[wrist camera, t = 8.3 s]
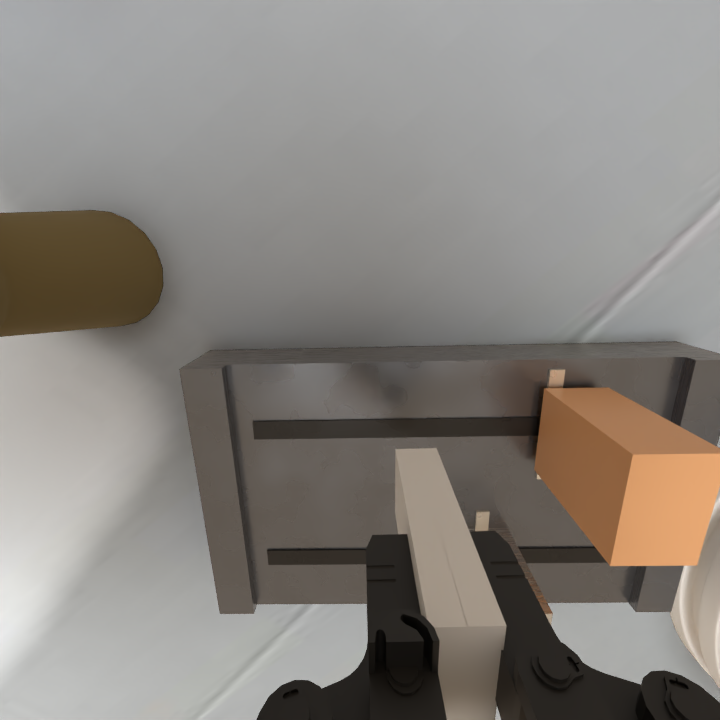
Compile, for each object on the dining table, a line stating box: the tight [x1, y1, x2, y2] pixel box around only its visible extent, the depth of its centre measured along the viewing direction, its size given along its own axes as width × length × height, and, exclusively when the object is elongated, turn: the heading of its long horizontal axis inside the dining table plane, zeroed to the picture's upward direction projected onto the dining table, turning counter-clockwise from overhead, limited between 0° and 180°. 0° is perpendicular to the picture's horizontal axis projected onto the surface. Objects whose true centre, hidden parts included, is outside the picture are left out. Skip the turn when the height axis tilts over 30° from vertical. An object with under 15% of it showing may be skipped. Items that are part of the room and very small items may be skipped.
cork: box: [0, 210, 163, 337], centre depth 14 cm, size 6×6×11 cm
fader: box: [534, 387, 720, 566], centre depth 15 cm, size 4×3×6 cm
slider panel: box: [179, 342, 720, 625], centre depth 19 cm, size 15×26×8 cm, turn 91°
